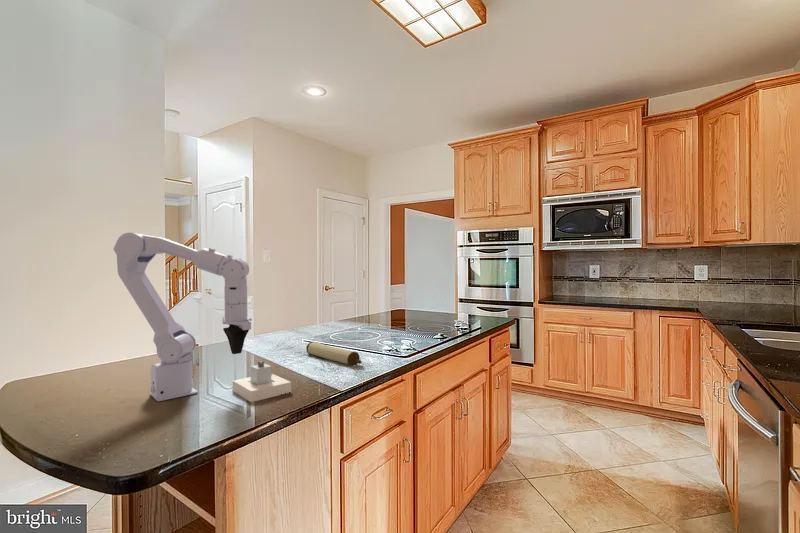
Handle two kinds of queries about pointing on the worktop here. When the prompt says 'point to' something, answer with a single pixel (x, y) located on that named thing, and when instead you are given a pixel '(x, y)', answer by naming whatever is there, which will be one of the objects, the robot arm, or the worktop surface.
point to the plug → (260, 373)
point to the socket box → (261, 388)
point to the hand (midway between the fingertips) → (236, 353)
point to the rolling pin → (333, 353)
